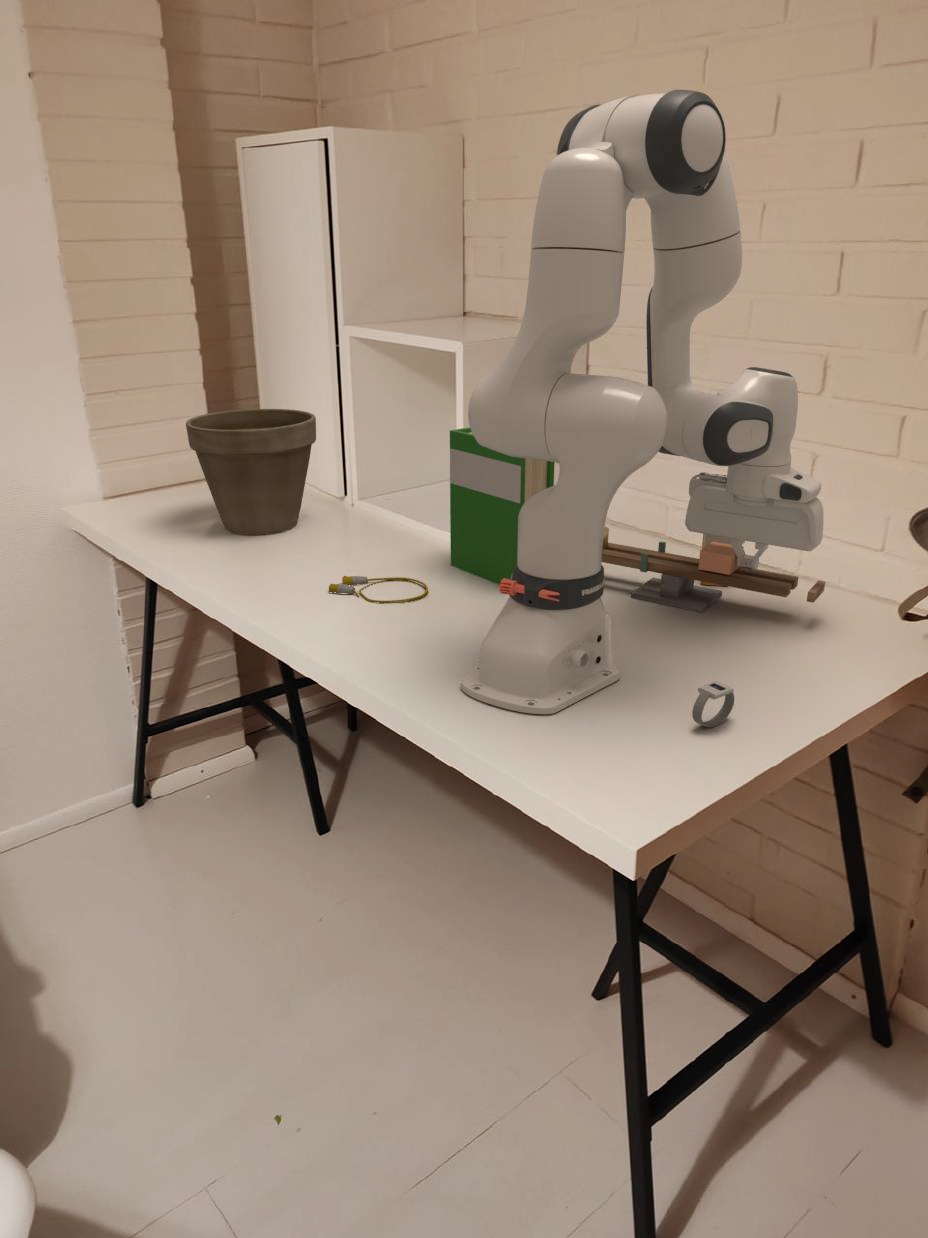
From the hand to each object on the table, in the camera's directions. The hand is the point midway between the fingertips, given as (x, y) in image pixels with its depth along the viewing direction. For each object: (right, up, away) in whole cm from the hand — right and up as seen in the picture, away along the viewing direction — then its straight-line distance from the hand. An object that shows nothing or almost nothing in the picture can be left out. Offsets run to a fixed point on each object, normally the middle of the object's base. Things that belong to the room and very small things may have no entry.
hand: (747, 567), depth 148 cm
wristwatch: (-14, -21, -32) cm, 41 cm away
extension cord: (-57, -4, +12) cm, 58 cm away
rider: (-4, -1, +3) cm, 5 cm away
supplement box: (-1, -1, +17) cm, 17 cm away
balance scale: (-9, -4, +8) cm, 13 cm away
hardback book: (-37, 0, +19) cm, 42 cm away
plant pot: (-85, +11, +47) cm, 97 cm away
